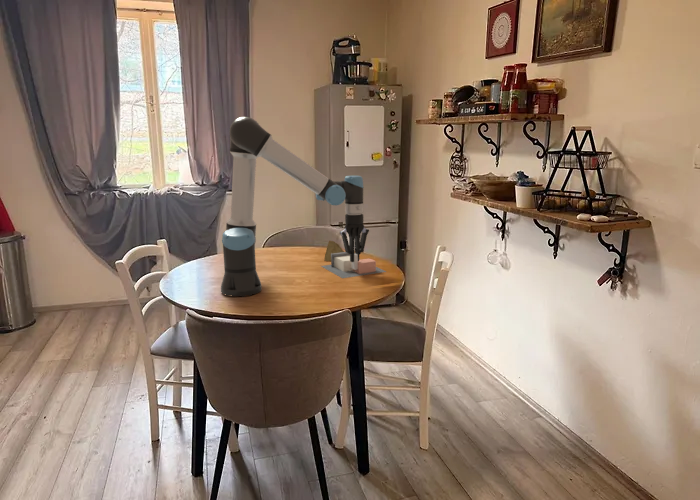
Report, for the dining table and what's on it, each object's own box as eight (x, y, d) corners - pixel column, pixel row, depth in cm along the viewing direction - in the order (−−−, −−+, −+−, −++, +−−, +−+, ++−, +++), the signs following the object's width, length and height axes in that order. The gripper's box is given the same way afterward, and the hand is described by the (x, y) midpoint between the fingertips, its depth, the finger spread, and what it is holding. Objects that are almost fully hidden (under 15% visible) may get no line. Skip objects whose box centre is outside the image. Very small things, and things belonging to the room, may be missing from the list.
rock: (351, 254, 238) (331, 250, 240) (349, 243, 231) (329, 238, 234) (343, 272, 231) (323, 267, 234) (341, 261, 225) (321, 256, 228)
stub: (359, 273, 210) (359, 263, 209) (353, 270, 214) (353, 260, 213) (375, 271, 213) (375, 261, 212) (369, 268, 218) (369, 258, 217)
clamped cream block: (340, 271, 213) (340, 258, 212) (329, 265, 223) (328, 253, 222) (362, 268, 218) (362, 256, 216) (350, 262, 228) (350, 250, 227)
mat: (342, 280, 204) (342, 278, 203) (320, 268, 223) (320, 265, 222) (386, 273, 213) (386, 271, 213) (362, 262, 232) (362, 260, 232)
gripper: (344, 216, 200) (344, 273, 205) (372, 213, 205) (372, 269, 211) (336, 213, 206) (337, 268, 212) (363, 211, 212) (364, 265, 217)
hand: (354, 268), depth 211 cm, fingers closed
